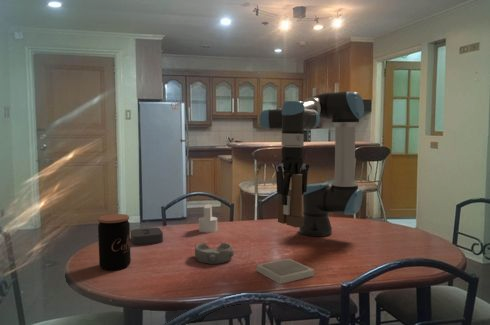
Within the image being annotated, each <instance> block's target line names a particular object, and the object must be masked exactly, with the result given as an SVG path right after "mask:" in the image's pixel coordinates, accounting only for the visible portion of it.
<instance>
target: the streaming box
mask: <svg viewBox="0 0 490 325" xmlns="http://www.w3.org/2000/svg"><path fill="white" fill-rule="evenodd" d="M163 242H164V232H163V231H162V230H161V228H159V227H147V228H137V229H132V230H130V243H132V245H133V246H136V247H139V246H148V245H156V244H161V243H163Z"/></svg>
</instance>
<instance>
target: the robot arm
mask: <svg viewBox="0 0 490 325" xmlns="http://www.w3.org/2000/svg"><path fill="white" fill-rule="evenodd" d="M364 114H365V104H364V100H363V98H362V96H361V94H360V93H359V92H356V91H341V92H340V91H339V92H325V93H319V94H316V95H314V96H310V97H307V98H305V99H303V101H302V100H301V101H300V100H286V101H283V103H282V106H281V107H279V108H275V109H264V110H262V111H261V112H260V115H259V125H260V127H261V128H262V129H263V130H281V143H280V144H281V146H282V147H281V154H280V156H281V162H280V164H278V165H274V171H275V172H276V176H275V177H276V194H277V195H278V194H280V195H282V205H283V214H286V215H290V196H288V192H289V189H290V185H291V175H292V174H302V213H303V214H302V216H304V226H303V227H298V228H299V233H300V234H301V235H305V236H308V237H309V236H310V237H326V236H331V235H332V234H333V228H332V227H333V226H332V225H331V221H330V217H329V213H334V214H341V215H345V216H346V215H348V216H349V215H357V213H358V212H359V210H360V208H361V206H362V203H363V197H364V196H363V191H362V189H361V188H359V184H358V182H356V180H355V178H356V177H355V173H356V172H355V170H356V169H355V165H356V164H355V163H356V161H355V160H356V127H357V125H358V124H360V120H361V119H363V117H364ZM321 119H323V120H331V123H332V125H333V126H334V128H335V130H334V134H335V135H334V136H335V137H334V139H335V140H334V141H335V143H334V145H335V147H334V180H333V181H332V182H331V183H330V184H331V185H330V184H329V182H328V183H327V182H320V183H311V184H308V174H309V169H310V165H309V164H306V163H304V161H303V157H304V147H303V145H304V143H305V142H304V141H305V140H304V137H305V136H304V134H305V131H304V130H308V131H310V130H314V129H316V128H318V126H319V124H320V121H321Z"/></svg>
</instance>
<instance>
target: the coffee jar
mask: <svg viewBox="0 0 490 325" xmlns="http://www.w3.org/2000/svg"><path fill="white" fill-rule="evenodd" d="M129 220H130V215H129V214H124V213H113V214H105V215H101V216H99V217H98V218H97V221H98V223H99V224H98V225H97V232H98V233H97V234H98V236H97V237H98V257H99V258H98V260H99V262H98V264H99V267H100V268H101V269H102V271H103V270H104V271H109V272H110V271H113V272H114V271H120V270H124V269H126V268H128V267H129V265H131V260H132V258H131V230H130V228H131V227H130V221H129Z"/></svg>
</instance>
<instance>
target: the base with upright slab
mask: <svg viewBox="0 0 490 325" xmlns="http://www.w3.org/2000/svg"><path fill="white" fill-rule="evenodd" d="M212 206H213V204H205V205H204V207H203V216H202V217H199V218H198V232H200V233H215V232H218V229H219V228H218V217H216V216H213V207H212Z"/></svg>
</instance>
